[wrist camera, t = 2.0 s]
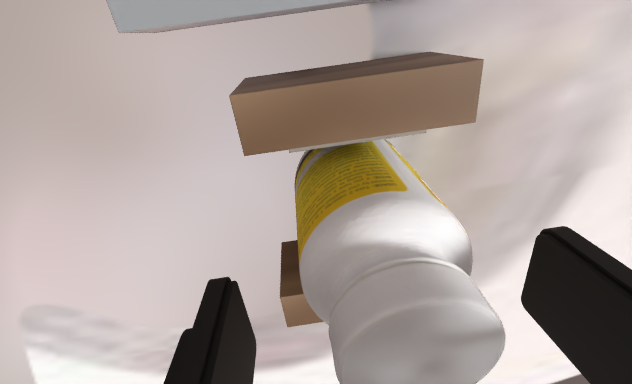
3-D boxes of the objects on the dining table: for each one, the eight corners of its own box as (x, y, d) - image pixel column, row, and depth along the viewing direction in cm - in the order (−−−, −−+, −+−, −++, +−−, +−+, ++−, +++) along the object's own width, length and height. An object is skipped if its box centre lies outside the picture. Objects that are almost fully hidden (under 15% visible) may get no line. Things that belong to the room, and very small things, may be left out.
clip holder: (245, 78, 13) (229, 95, 9) (430, 51, 13) (483, 59, 9) (287, 269, 18) (287, 327, 14) (420, 249, 18) (452, 301, 15)
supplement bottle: (278, 203, 16) (267, 408, 7) (321, 107, 14) (378, 235, 5) (368, 233, 17) (447, 435, 9) (419, 150, 15) (594, 308, 7)
